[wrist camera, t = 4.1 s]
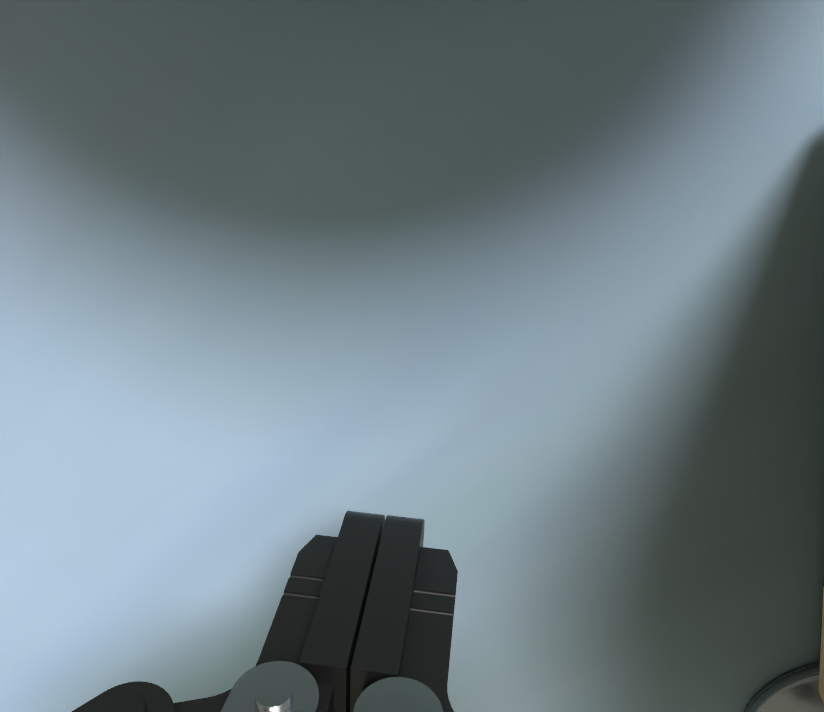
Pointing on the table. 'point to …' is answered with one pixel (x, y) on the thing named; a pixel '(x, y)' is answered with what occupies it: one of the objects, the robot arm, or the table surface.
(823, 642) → the gate
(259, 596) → the table surface
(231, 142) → the table surface
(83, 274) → the table surface
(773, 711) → the hinge post
